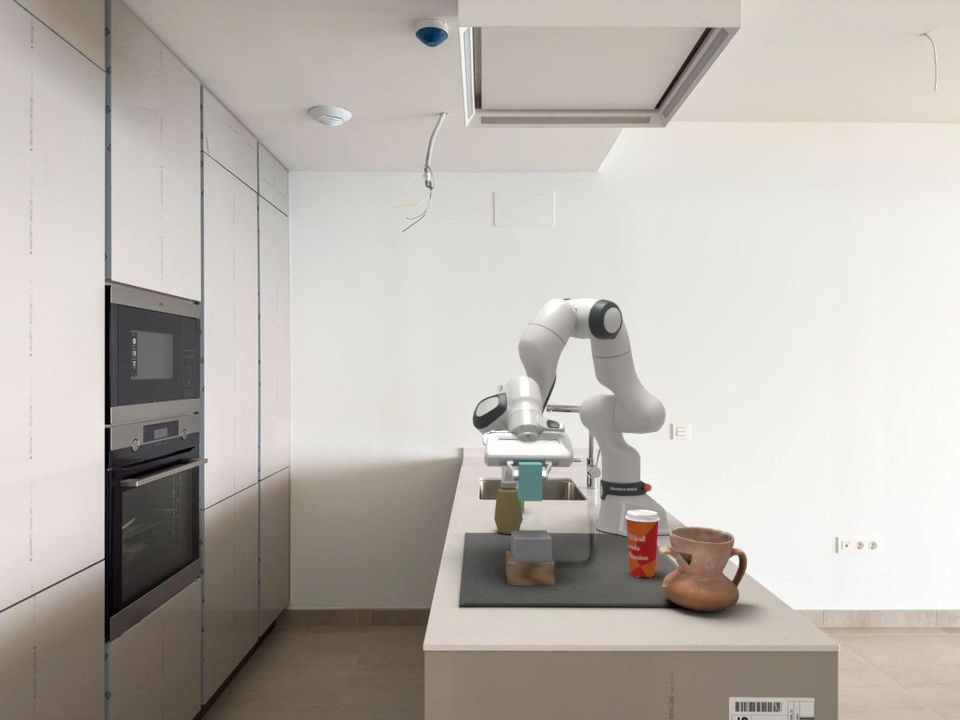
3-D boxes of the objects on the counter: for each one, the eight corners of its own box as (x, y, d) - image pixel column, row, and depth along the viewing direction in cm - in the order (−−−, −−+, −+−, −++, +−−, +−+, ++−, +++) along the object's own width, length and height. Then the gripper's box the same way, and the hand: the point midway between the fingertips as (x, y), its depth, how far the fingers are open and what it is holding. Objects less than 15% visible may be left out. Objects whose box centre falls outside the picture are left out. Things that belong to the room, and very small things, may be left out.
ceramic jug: (669, 618, 128) (671, 542, 129) (646, 592, 143) (648, 523, 143) (763, 619, 129) (765, 543, 129) (731, 593, 144) (733, 525, 144)
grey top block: (546, 552, 157) (546, 530, 157) (551, 562, 149) (551, 538, 149) (511, 552, 156) (511, 530, 156) (515, 562, 148) (515, 539, 148)
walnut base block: (549, 573, 158) (549, 551, 158) (554, 586, 148) (554, 563, 148) (505, 572, 157) (505, 551, 157) (507, 586, 147) (508, 563, 147)
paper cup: (618, 571, 158) (618, 510, 158) (645, 567, 161) (645, 507, 161) (638, 581, 151) (639, 517, 151) (667, 577, 154) (667, 514, 154)
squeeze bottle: (507, 537, 190) (508, 471, 190) (488, 531, 196) (488, 468, 196) (528, 532, 195) (528, 469, 195) (508, 527, 201) (509, 465, 201)
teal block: (539, 497, 155) (540, 461, 155) (542, 501, 150) (542, 464, 150) (517, 496, 155) (517, 461, 155) (519, 501, 150) (519, 464, 150)
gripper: (482, 422, 160) (483, 470, 150) (570, 423, 160) (577, 471, 150) (482, 439, 164) (482, 487, 154) (567, 440, 164) (573, 488, 155)
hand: (530, 479), depth 152 cm, fingers closed on teal block, 5 cm apart
